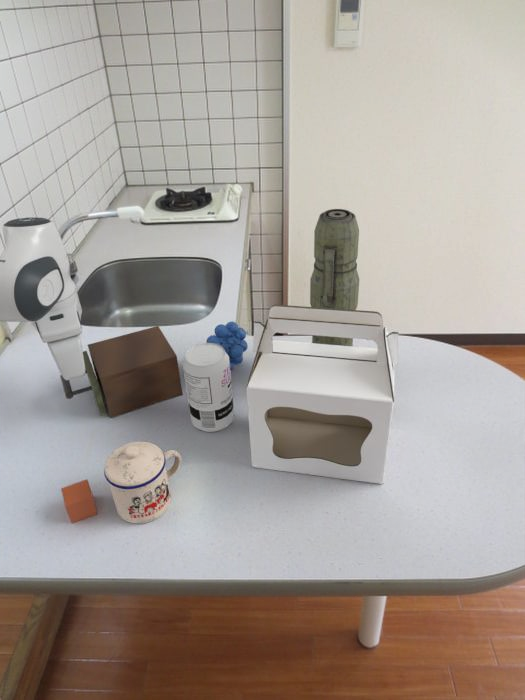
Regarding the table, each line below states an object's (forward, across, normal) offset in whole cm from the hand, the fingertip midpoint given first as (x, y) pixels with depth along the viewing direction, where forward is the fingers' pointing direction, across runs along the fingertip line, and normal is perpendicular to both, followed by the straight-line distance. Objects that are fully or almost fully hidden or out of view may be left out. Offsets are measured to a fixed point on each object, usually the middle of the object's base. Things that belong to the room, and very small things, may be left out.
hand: (73, 371), depth 99 cm
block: (+8, +26, -5) cm, 28 cm away
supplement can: (+9, +16, +21) cm, 28 cm away
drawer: (+8, 0, +7) cm, 10 cm away
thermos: (+9, +16, +47) cm, 51 cm away
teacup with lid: (+9, +29, +6) cm, 31 cm away
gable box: (+9, +32, +35) cm, 48 cm away
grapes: (+9, +4, +30) cm, 32 cm away
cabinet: (+8, 0, +11) cm, 14 cm away
